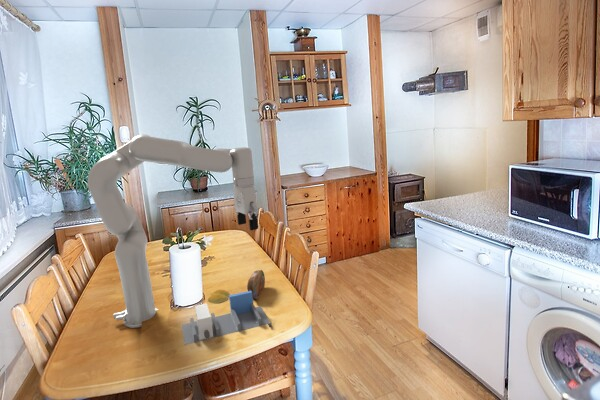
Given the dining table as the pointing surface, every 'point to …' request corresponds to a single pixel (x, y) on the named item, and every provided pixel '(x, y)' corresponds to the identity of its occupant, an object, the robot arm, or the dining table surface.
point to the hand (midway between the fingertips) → (248, 226)
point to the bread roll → (218, 296)
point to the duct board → (230, 319)
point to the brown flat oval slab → (256, 283)
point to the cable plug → (204, 321)
